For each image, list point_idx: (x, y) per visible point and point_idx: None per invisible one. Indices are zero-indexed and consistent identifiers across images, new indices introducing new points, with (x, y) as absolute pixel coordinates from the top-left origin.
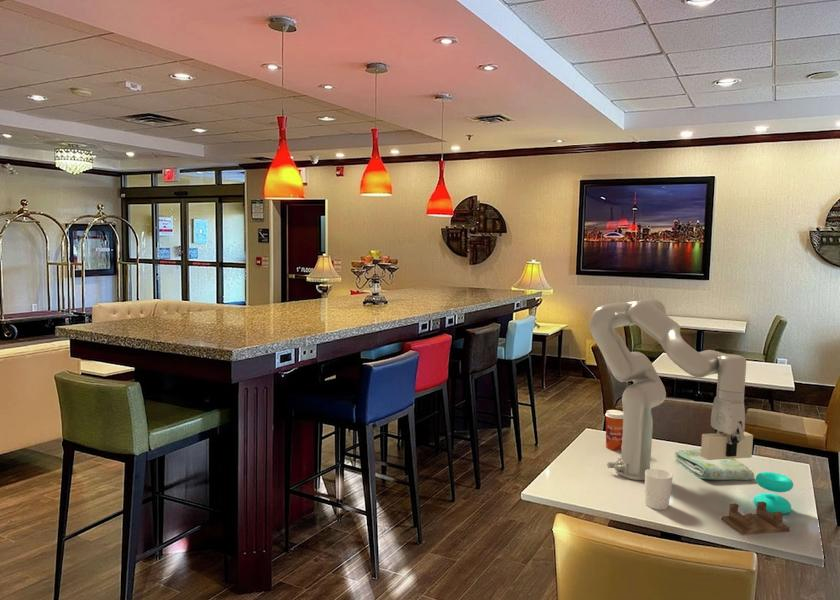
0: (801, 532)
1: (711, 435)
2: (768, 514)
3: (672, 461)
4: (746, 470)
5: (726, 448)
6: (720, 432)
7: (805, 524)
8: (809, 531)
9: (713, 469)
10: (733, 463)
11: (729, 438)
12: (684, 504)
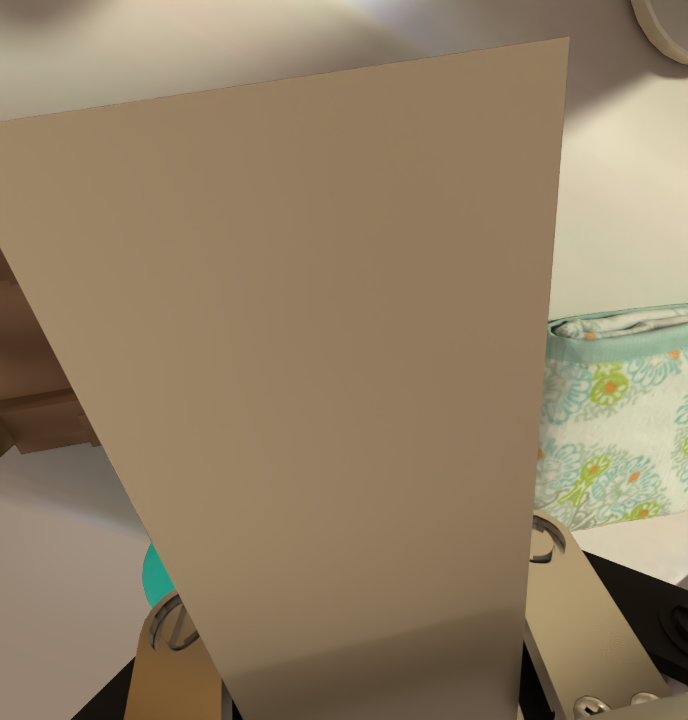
0: (32, 479)
1: (326, 388)
2: (48, 414)
3: None
4: None
5: None
6: (541, 669)
7: (119, 518)
8: (53, 507)
9: (565, 388)
10: (603, 497)
11: (167, 713)
12: (257, 46)
